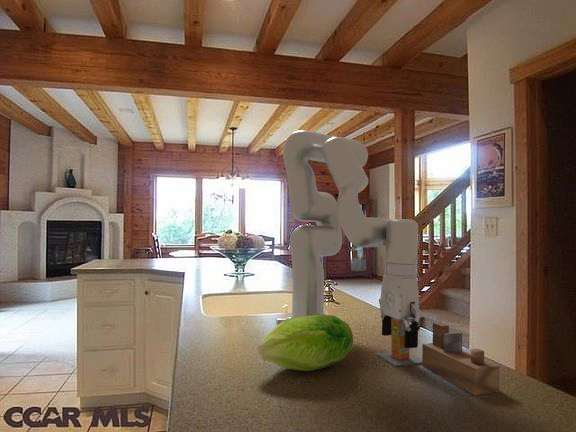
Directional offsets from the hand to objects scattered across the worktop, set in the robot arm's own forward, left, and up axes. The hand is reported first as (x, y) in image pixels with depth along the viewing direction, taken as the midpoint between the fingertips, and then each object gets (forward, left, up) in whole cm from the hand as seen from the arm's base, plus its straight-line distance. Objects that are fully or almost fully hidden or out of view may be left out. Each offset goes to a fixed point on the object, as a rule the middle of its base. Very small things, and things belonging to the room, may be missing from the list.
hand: (398, 341), depth 95 cm
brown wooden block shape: (+6, -13, -4) cm, 15 cm away
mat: (0, 0, -4) cm, 4 cm away
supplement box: (0, 0, -4) cm, 4 cm away
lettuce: (-24, 0, -5) cm, 24 cm away
